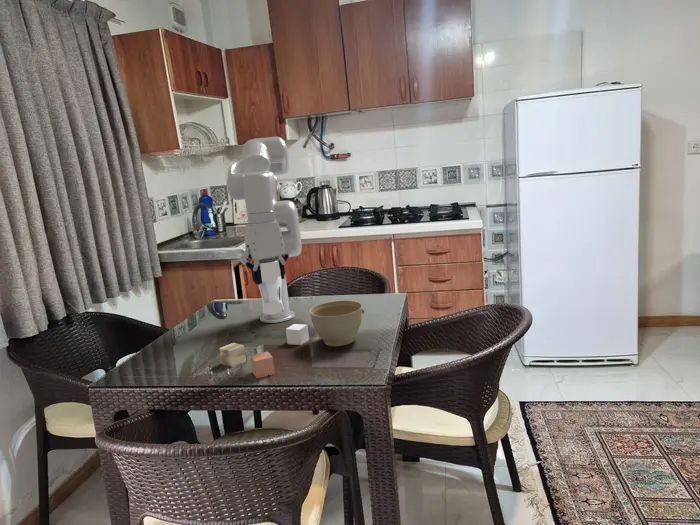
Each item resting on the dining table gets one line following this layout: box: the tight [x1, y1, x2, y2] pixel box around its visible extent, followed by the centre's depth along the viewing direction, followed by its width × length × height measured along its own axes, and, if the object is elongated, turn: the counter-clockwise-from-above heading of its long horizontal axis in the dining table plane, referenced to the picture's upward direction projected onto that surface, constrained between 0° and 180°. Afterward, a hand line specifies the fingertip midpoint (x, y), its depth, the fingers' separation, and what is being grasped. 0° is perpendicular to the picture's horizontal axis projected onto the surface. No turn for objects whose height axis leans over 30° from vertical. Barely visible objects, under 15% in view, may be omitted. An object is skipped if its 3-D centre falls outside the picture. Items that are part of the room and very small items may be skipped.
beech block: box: [219, 342, 247, 368], centre depth 153 cm, size 5×5×5 cm
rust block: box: [250, 351, 276, 379], centre depth 143 cm, size 5×5×5 cm
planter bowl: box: [309, 300, 363, 347], centre depth 162 cm, size 16×16×11 cm
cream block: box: [285, 323, 310, 346], centre depth 166 cm, size 5×5×5 cm
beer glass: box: [257, 258, 284, 315], centre depth 149 cm, size 7×7×15 cm
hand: (269, 280), depth 149 cm, fingers closed on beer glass, 6 cm apart
